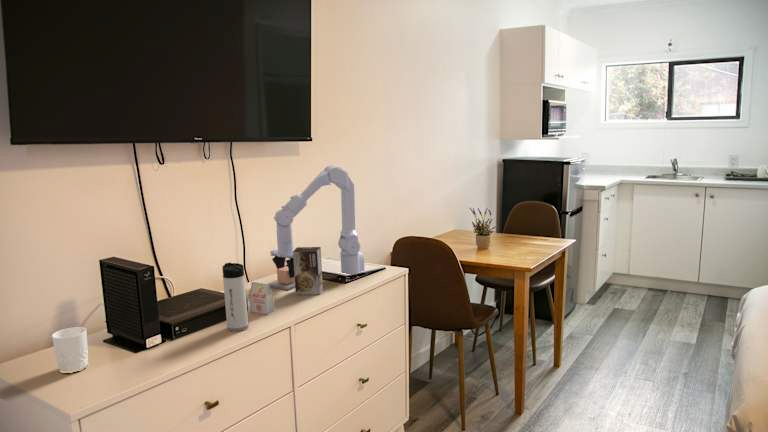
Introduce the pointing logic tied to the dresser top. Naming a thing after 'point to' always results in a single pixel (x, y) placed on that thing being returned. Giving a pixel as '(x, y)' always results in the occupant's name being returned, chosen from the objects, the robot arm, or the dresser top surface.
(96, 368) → the dresser top surface
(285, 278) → the cube
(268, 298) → the white printed carton
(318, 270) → the coffee box
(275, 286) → the coaster
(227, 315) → the travel mug
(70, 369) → the white cup
